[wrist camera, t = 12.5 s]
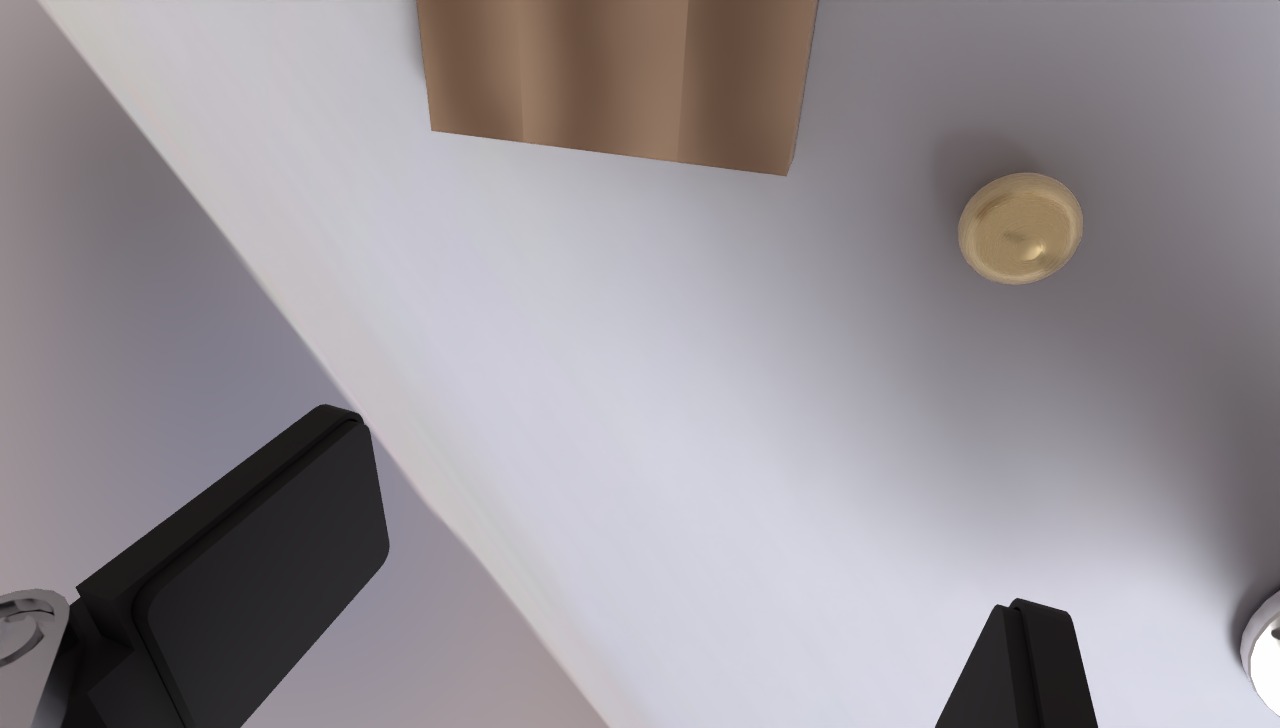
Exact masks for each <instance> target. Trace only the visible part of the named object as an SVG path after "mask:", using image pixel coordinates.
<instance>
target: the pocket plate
mask: <svg viewBox="0 0 1280 728" xmlns="http://www.w3.org/2000/svg"><path fill="white" fill-rule="evenodd" d="M818 1H819V0H417V9H418V18H419V26H420V35H421V44H422V52H423V61H424V70H425V78H426V87H427V95H428V104H429V113H430V121H431V130H432V131H438V132H446V133H453V134H461V135H469V136H477V137H485V138H492V139H500V140H508V141H516V142H524V143H531V144H539V145H547V146H555V147H563V148H570V149H578V150H586V151H594V152H602V153H609V154H617V155H625V156H633V157H641V158H648V159H656V160H664V161H672V162H680V163H687V164H695V165H703V166H711V167H719V168H726V169H734V170H742V171H750V172H758V173H765V174H773V175H781V176H786V175H787V173H788V170H789V168H790V166H791V163H792V161H793V157H794V151H795V145H796V139H797V132H798V126H799V120H800V114H801V107H802V101H803V95H804V89H805V83H806V76H807V70H808V64H809V58H810V51H811V45H812V39H813V33H814V26H815V20H816V14H817V8H818Z"/></svg>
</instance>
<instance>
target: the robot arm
mask: <svg viewBox="0 0 1280 728" xmlns="http://www.w3.org/2000/svg"><path fill="white" fill-rule="evenodd" d="M388 552H389V538H388V532H387V526H386V520H385V515H384V509H383V503H382V498H381V492H380V486H379V480H378V475H377V470H376V463H375V457H374V452H373V446H372V441H371V434H370V430H369V428H368V427H367V426H366V425H364V422H363V419H362V417H361V416H360V415H359V414H358V413H355V412H352V411H349V410H345V409H341V408H338V407H334V406H331V405H327V404H325V405H319V406H318V407H316V408H314V409H313V410H311V411H310V412H309V413H308V414H306V415H305V416H303V417H302V418H301V419H299V420H298V421H297V422H295V423H294V424H293V425H291V426H290V427H289V428H287V429H286V430H285V431H283V432H282V433H281V434H279V435H278V436H277V437H275V438H274V439H273V440H271V441H270V442H269V443H267V444H266V445H265V446H263V447H262V448H261V449H259V450H258V451H257V452H255V453H254V454H253V455H251V456H250V457H249V458H247V459H246V460H245V461H243V462H242V463H241V464H239V465H238V466H237V467H235V468H234V469H233V470H231V471H230V472H229V473H227V474H226V475H225V476H223V477H222V478H221V479H219V480H218V481H217V482H215V483H214V484H213V485H211V486H210V487H209V488H207V489H206V490H205V491H203V492H202V493H201V494H199V495H198V496H197V497H195V498H194V499H193V500H191V501H190V502H189V503H187V504H186V505H185V506H183V507H182V508H181V509H179V510H178V511H177V512H175V513H174V514H173V515H171V516H170V517H169V518H167V519H166V520H165V521H163V522H162V523H160V524H159V525H158V526H156V527H155V528H154V529H152V530H151V531H150V532H148V533H147V534H146V535H145V536H144V537H142V538H140V539H139V540H138V541H137V542H135V543H134V544H133V545H131V546H130V547H128V548H127V549H126V550H125V551H123V552H122V553H120V554H119V555H118V556H117V557H115V558H114V559H112V560H111V561H110V562H108V563H107V564H106V565H104V566H103V567H102V568H101V569H99V570H98V571H96V572H95V573H94V574H93V575H91V576H90V577H89V578H87V579H86V580H84V581H83V582H82V583H80V584H79V585H78V586H76V589H77V591H78V593H79V595H80V598H79V599H78V600H76V601H75V602H74V603H72V604H71V605H70V606H69V604H68V603H67V601H66V599H65V597H63V596H62V595H60V594H58V593H56V592H55V591H51V590H43V589H30V590H21V591H15V592H12V593H9V594H5V595H2V596H0V728H240V727H241V726H242V725H243V724H244V723H245V722H246V721H247V719H248V718H249V717H250V716H251V715H252V714H253V713H254V711H255V710H256V709H257V708H258V707H259V706H260V705H261V703H262V702H263V701H264V700H265V699H266V698H267V697H268V695H269V694H270V693H271V692H272V691H273V689H275V687H276V686H277V685H278V684H279V683H280V682H281V681H282V679H283V678H284V677H285V676H286V675H287V674H288V672H289V671H290V670H291V669H292V668H293V667H294V666H295V665H296V663H297V662H298V661H299V660H300V659H301V658H302V656H303V655H304V654H305V653H306V652H307V651H308V650H309V649H310V647H311V646H312V645H313V644H314V643H315V642H316V641H317V639H318V638H319V637H320V636H321V635H322V634H323V633H324V631H325V630H326V629H327V628H328V627H329V626H330V625H331V624H332V622H333V621H334V620H335V619H336V618H337V617H338V616H339V614H340V613H341V612H342V611H343V610H344V609H345V608H346V606H347V605H348V604H349V603H350V602H351V601H352V600H353V598H354V597H355V596H356V595H357V594H358V593H359V591H360V590H361V589H362V588H363V587H364V586H365V585H366V584H367V582H368V581H369V580H370V579H371V578H372V577H373V576H374V574H375V573H376V572H377V571H378V570H379V569H380V567H381V566H382V565H383V564H384V562H385V560H386V558H387V555H388ZM1240 654H1241V659H1242V664H1243V668H1244V670H1245V672H1246V674H1247V676H1248V678H1249V680H1250V682H1251V685H1252V687H1253V689H1254V691H1255V692H1256V693H1257V695H1258V696H1259V697H1260V698H1261V700H1262V701H1263V702H1264V704H1265V705H1266V706H1267V707H1268V708H1269V709H1271V710H1272V711H1273V712H1274V713H1275V714H1276V715H1277V716H1279V717H1280V590H1279V591H1278V592H1277V593H1275V594H1274V595H1273V596H1271V597H1270V598H1269V599H1267V600H1266V601H1265V602H1264V603H1263V604H1262V606H1261V607H1260V608H1259V609H1258V610H1257V611H1256V612H1255V613H1254V614H1253V616H1252V617H1251V618H1250V620H1249V622H1248V624H1247V626H1246V628H1245V630H1244V632H1243V634H1242V641H1241V648H1240ZM935 728H1098V725H1097V721H1096V717H1095V712H1094V708H1093V704H1092V700H1091V696H1090V692H1089V687H1088V683H1087V679H1086V675H1085V671H1084V667H1083V662H1082V658H1081V654H1080V650H1079V646H1078V642H1077V637H1076V633H1075V629H1074V625H1073V622H1072V619H1071V616H1070V615H1069V614H1068V613H1067V612H1066V611H1063V610H1059V609H1055V608H1052V607H1048V606H1045V605H1041V604H1038V603H1034V602H1030V601H1027V600H1023V599H1019V598H1016V599H1015V600H1013V601H1012V603H1011V604H1010V606H1009V607H1005V606H1002V605H998V604H997V605H996V606H995V607H994V608H993V610H992V612H991V614H990V616H989V618H988V620H987V622H986V624H985V626H984V628H983V630H982V632H981V634H980V636H979V638H978V640H977V642H976V644H975V646H974V648H973V650H972V652H971V654H970V656H969V658H968V660H967V663H966V665H965V667H964V669H963V671H962V673H961V675H960V677H959V679H958V681H957V683H956V685H955V687H954V689H953V691H952V693H951V695H950V697H949V699H948V701H947V703H946V705H945V707H944V709H943V711H942V713H941V715H940V717H939V720H938V722H937V724H936V726H935Z"/></svg>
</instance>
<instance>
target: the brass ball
mask: <svg viewBox="0 0 1280 728" xmlns="http://www.w3.org/2000/svg"><path fill="white" fill-rule="evenodd" d="M1082 233H1083V214H1082V210H1081V207H1080V204H1079V202H1078V201H1077V199H1076V197H1075V196H1074V194H1073V193H1072V192H1071V191H1070V190H1069V189H1068V188H1067V187H1066V186H1065V185H1064V184H1062V183H1061V182H1059V181H1058V180H1056V179H1054V178H1052V177H1049V176H1046V175H1043V174H1038V173H1029V172H1024V173H1015V174H1009V175H1006V176H1003V177H1000V178H998V179H995V180H993V181H992V182H990V183H988V184H987V185H985V186H984V187H982V188H981V189H980V190H979V191H977V192H976V193H975V194H974V195H973V197H972V198H971V199H970V200H969V202H968V203H967V204H966V206H965V208H964V210H963V212H962V215H961V217H960V221H959V225H958V242H959V247H960V250H961V252H962V255H963V257H964V258H965V260H966V262H967V263H968V264H969V265H970V266H971V267H972V268H973V269H974V270H975V271H976V272H977V273H978V274H980V275H981V276H983V277H985V278H987V279H989V280H992V281H995V282H997V283H1002V284H1009V285H1021V284H1028V283H1032V282H1036V281H1039V280H1042V279H1044V278H1046V277H1048V276H1050V275H1052V274H1053V273H1055V272H1056V271H1058V270H1059V269H1061V268H1062V267H1063V266H1064V265H1065V264H1066V263H1067V262H1068V261H1069V260H1070V258H1071V257H1072V256H1073V254H1074V253H1075V251H1076V249H1077V247H1078V245H1079V243H1080V240H1081V237H1082Z"/></svg>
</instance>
